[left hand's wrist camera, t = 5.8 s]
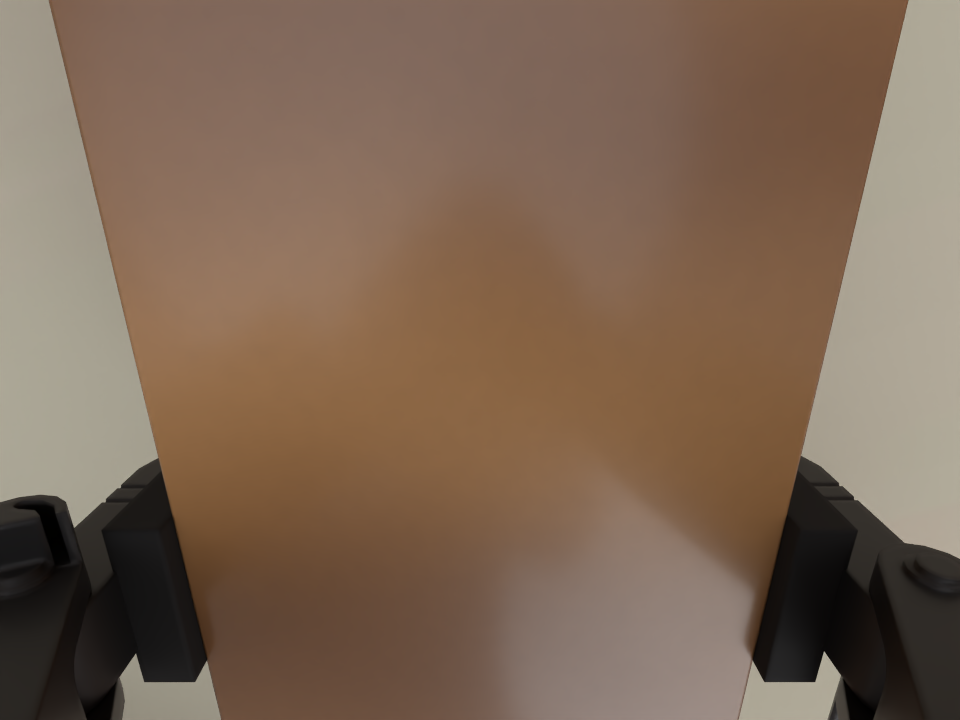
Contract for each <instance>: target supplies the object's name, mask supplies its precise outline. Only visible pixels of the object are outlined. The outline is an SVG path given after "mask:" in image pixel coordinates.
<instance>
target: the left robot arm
mask: <svg viewBox="0 0 960 720" xmlns="http://www.w3.org/2000/svg"><path fill="white" fill-rule="evenodd" d="M824 651H825V653H826V654H827V656H828V657H829V659H830V660H831V661H832V663H833V664H834V666H835V667H836V669H837V670H838V672H839V673H840V674H841V678H840V681H839V684H838V687H837V691H836V694H835V697H834V701H833V704H832V707H831V710H830V714H829V717H828V720H960V559H959V558H957V557H955V556H952V555H950V554H948V553H945V552H942V551H939V550H936V549H933V548H930V547H926V546H921V545H914V544H907V543H904V542H903V541H902V540H901V539H899V538H898V537H897V536H896V535H895V534H894V533H893V532H892V531H891V530H890V529H889V528H887V527H886V526H885V525H884V524H883V523H882V522H881V521H880V520H879V519H878V518H876V517H875V516H874V515H873V514H872V513H871V512H870V511H869V510H868V509H867V508H866V507H864V506H863V505H862V504H861V503H860V502H859V501H858V500H854V496H852V495H851V494H850V493H849V492H848V491H847V490H846V489H845V488H844V487H843V486H839V483H838V482H837V481H836V480H835V479H834V478H833V477H832V476H831V475H829V474H828V473H827V472H826V471H825V470H824V469H823V468H822V467H821V466H819V465H817V464H815V463H813V462H811V461H809V460H808V459H806V458H804V457H802V456H801V457H800V461H799V465H798V470H797V474H796V478H795V482H794V487H793V491H792V495H791V499H790V504H789V508H788V512H787V516H786V521H785V525H784V529H783V533H782V537H781V542H780V546H779V550H778V554H777V559H776V563H775V567H774V571H773V576H772V580H771V584H770V588H769V593H768V597H767V601H766V605H765V609H764V614H763V618H762V622H761V626H760V631H759V635H758V639H757V643H756V648H755V652H754V656H753V662H754V664H755V665H756V667H757V669H758V671H759V673H760V675H761V677H762V678H763V680H764V682H815V681H816V677H817V674H818V670H819V667H820V663H821V660H822V656H823V653H824ZM135 654H136V655H137V658H138V662H139V665H140V669H141V672H142V676H143V679H144V682H195V681H196V679H197V677H198V676H199V674H200V672H201V670H202V668H203V666H204V665H205V663H206V661H207V658H206V653H205V649H204V645H203V641H202V637H201V633H200V628H199V624H198V620H197V616H196V612H195V608H194V603H193V599H192V595H191V591H190V587H189V583H188V578H187V574H186V570H185V566H184V562H183V558H182V553H181V549H180V545H179V541H178V537H177V533H176V528H175V524H174V520H173V516H172V512H171V508H170V503H169V499H168V495H167V491H166V487H165V483H164V478H163V474H162V470H161V466H160V462H159V458H158V459H156V460H154V461H152V462H150V463H148V464H147V465H145V466H143V467H141V468H139V469H138V470H137V471H136V472H135V473H134V474H133V475H132V476H131V477H129V478H128V479H127V480H126V481H125V482H124V483H123V484H122V485H121V488H117V489H116V490H115V491H114V492H113V493H112V494H111V495H110V496H109V497H108V498H107V499H106V502H105V503H101V504H100V505H99V506H98V507H97V508H96V509H95V510H94V511H92V512H91V513H90V514H89V515H88V516H87V517H86V518H85V519H84V520H83V521H82V522H81V523H79V524H78V525H77V526H76V527H75V528H74V527H73V523H72V520H71V517H70V514H69V510H68V507H67V504H66V502H65V501H63V500H62V499H60V498H59V497H57V496H47V495H35V496H26V497H19V498H15V499H11V500H7V501H4V502H0V720H122V717H123V710H124V703H125V700H124V693H123V687H122V684H121V681H120V678H119V677H120V675H121V674H122V673H123V671H124V670H125V668H126V667H127V665H128V664H129V662H130V661H131V659H132V658H133V657H134V655H135Z"/></svg>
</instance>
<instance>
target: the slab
mask: <svg viewBox="0 0 960 720" xmlns="http://www.w3.org/2000/svg"><path fill="white" fill-rule="evenodd" d="M49 3H50V7H51V12H52V16H53V20H54V24H55V28H56V32H57V37H58V41H59V45H60V49H61V53H62V57H63V62H64V66H65V70H66V74H67V78H68V82H69V87H70V91H71V95H72V99H73V103H74V107H75V112H76V116H77V120H78V124H79V128H80V132H81V137H82V141H83V145H84V149H85V153H86V157H87V162H88V166H89V170H90V174H91V178H92V182H93V187H94V191H95V195H96V199H97V203H98V207H99V212H100V216H101V220H102V224H103V228H104V232H105V237H106V241H107V245H108V249H109V253H110V257H111V262H112V266H113V270H114V274H115V278H116V282H117V287H118V291H119V295H120V299H121V303H122V307H123V312H124V316H125V320H126V324H127V328H128V332H129V337H130V341H131V345H132V349H133V353H134V357H135V362H136V366H137V370H138V374H139V378H140V382H141V387H142V391H143V395H144V399H145V403H146V407H147V412H148V416H149V420H150V424H151V428H152V433H153V437H154V441H155V445H156V449H157V453H158V458H159V462H160V466H161V470H162V474H163V478H164V483H165V487H166V491H167V495H168V499H169V503H170V508H171V512H172V516H173V520H174V524H175V528H176V533H177V537H178V541H179V545H180V549H181V553H182V558H183V562H184V566H185V570H186V574H187V578H188V583H189V587H190V591H191V595H192V599H193V603H194V608H195V612H196V616H197V620H198V624H199V628H200V633H201V637H202V641H203V645H204V649H205V653H206V658H207V662H208V666H209V670H210V674H211V678H212V683H213V687H214V691H215V695H216V699H217V703H218V708H219V712H220V716H221V720H739V715H740V711H741V707H742V703H743V698H744V694H745V690H746V686H747V681H748V677H749V673H750V669H751V664H752V660H753V656H754V652H755V648H756V643H757V639H758V635H759V631H760V626H761V622H762V618H763V614H764V609H765V605H766V601H767V597H768V593H769V588H770V584H771V580H772V576H773V571H774V567H775V563H776V559H777V554H778V550H779V546H780V542H781V537H782V533H783V529H784V525H785V521H786V516H787V512H788V508H789V504H790V499H791V495H792V491H793V487H794V482H795V478H796V474H797V470H798V465H799V461H800V457H801V453H802V449H803V444H804V440H805V436H806V432H807V427H808V423H809V419H810V415H811V410H812V406H813V402H814V398H815V394H816V389H817V385H818V381H819V377H820V372H821V368H822V364H823V360H824V355H825V351H826V347H827V343H828V338H829V334H830V330H831V326H832V322H833V317H834V313H835V309H836V305H837V300H838V296H839V292H840V288H841V283H842V279H843V275H844V271H845V267H846V262H847V258H848V254H849V250H850V245H851V241H852V237H853V233H854V228H855V224H856V220H857V216H858V211H859V207H860V203H861V199H862V195H863V190H864V186H865V182H866V178H867V173H868V169H869V165H870V161H871V156H872V152H873V148H874V144H875V139H876V135H877V131H878V127H879V123H880V118H881V114H882V110H883V106H884V101H885V97H886V93H887V89H888V84H889V80H890V76H891V72H892V68H893V63H894V59H895V55H896V51H897V46H898V42H899V38H900V34H901V29H902V25H903V21H904V17H905V12H906V8H907V4H908V0H49Z"/></svg>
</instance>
